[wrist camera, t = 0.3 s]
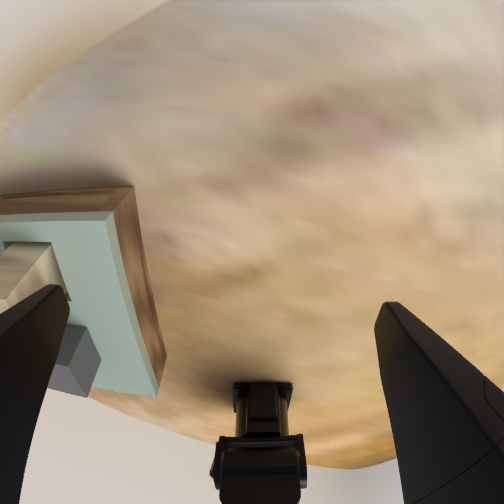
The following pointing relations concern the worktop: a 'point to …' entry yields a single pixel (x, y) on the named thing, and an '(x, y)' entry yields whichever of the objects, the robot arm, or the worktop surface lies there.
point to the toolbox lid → (90, 303)
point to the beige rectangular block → (27, 271)
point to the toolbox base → (129, 242)
